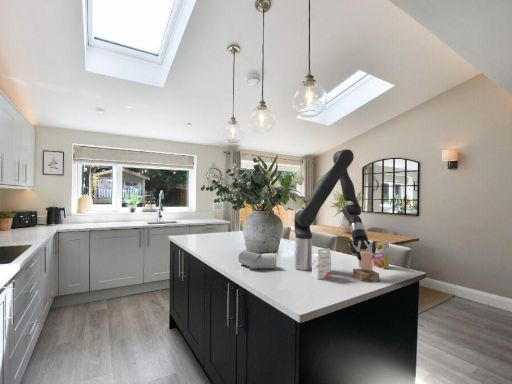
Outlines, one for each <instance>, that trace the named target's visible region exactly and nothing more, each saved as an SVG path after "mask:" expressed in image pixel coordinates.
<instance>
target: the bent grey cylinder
mask: <svg viewBox="0 0 512 384" xmlns="http://www.w3.org/2000/svg"><path fill="white" fill-rule="evenodd" d="M237 257H238V258H237V259H238V262H239V264H240V263H241V264H240V265H242V264H244V265H243V266H245V265H247V266H246V267H248V266H249V267H248V268H249V270H258V269H257V268H275V269H276V268H277V255H276V253H274V252H272V253H269V252H268V253H262V254H260V253H258V252H257V253H256V252H254V251H253V252H252V251H248V250H246V249H245V250H242V251H240V252H239V255H238V256H237Z"/></svg>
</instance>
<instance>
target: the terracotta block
mask: <svg viewBox="0 0 512 384" xmlns="http://www.w3.org/2000/svg"><path fill="white" fill-rule="evenodd" d="M359 252H360V254H361V258H362V259H361V261H359V260H358V267H359V269H371V270H373V266H374V265H373V253H372V252H370V251H366V250H360V251H359Z"/></svg>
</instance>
